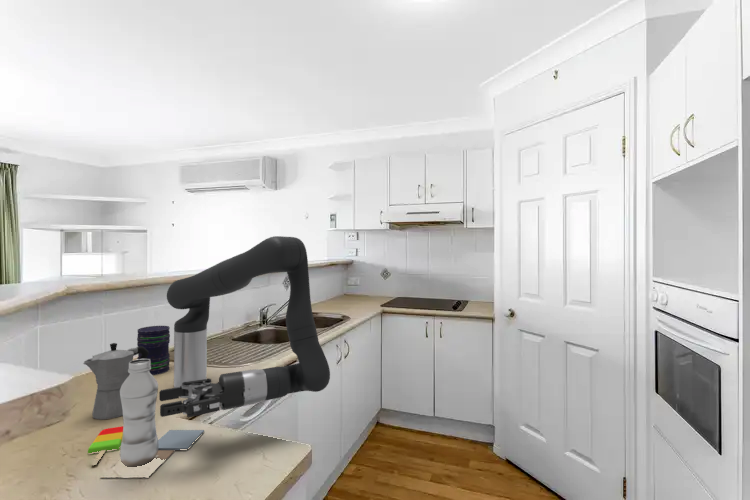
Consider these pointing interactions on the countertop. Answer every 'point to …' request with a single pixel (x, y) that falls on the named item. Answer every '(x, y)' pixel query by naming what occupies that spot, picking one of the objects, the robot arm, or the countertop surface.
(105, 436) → the popsicle
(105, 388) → the coffeepot
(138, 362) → the plastic bottle
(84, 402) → the countertop surface
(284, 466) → the countertop surface
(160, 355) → the storage jar
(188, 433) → the slate pad
